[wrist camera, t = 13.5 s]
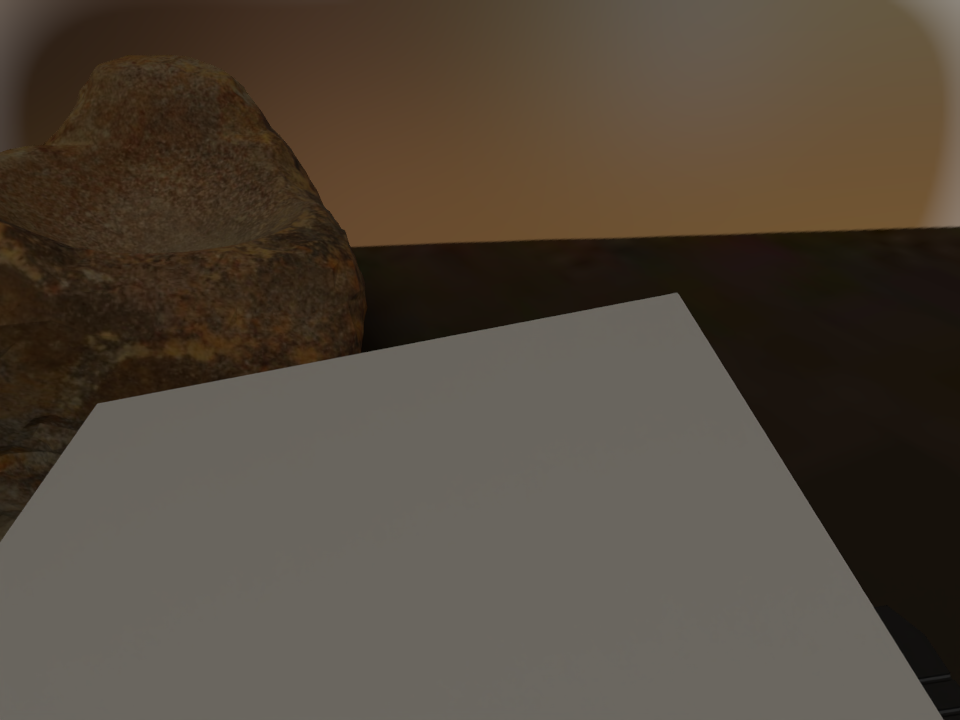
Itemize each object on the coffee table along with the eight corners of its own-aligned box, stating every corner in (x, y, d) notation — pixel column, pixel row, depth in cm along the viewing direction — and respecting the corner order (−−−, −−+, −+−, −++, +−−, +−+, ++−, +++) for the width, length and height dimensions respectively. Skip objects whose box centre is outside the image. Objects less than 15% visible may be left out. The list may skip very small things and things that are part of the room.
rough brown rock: (224, 771, 20) (-17, 199, 13) (-225, 654, 25) (-586, 196, 18) (488, 335, 39) (453, 4, 32) (202, 318, 44) (114, 29, 37)
